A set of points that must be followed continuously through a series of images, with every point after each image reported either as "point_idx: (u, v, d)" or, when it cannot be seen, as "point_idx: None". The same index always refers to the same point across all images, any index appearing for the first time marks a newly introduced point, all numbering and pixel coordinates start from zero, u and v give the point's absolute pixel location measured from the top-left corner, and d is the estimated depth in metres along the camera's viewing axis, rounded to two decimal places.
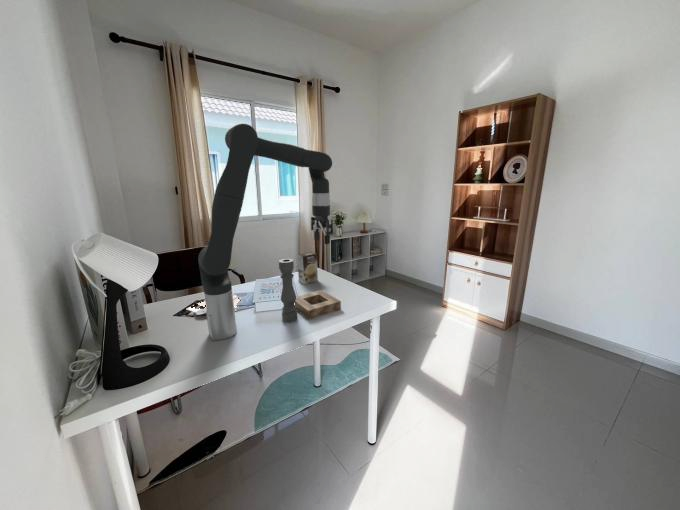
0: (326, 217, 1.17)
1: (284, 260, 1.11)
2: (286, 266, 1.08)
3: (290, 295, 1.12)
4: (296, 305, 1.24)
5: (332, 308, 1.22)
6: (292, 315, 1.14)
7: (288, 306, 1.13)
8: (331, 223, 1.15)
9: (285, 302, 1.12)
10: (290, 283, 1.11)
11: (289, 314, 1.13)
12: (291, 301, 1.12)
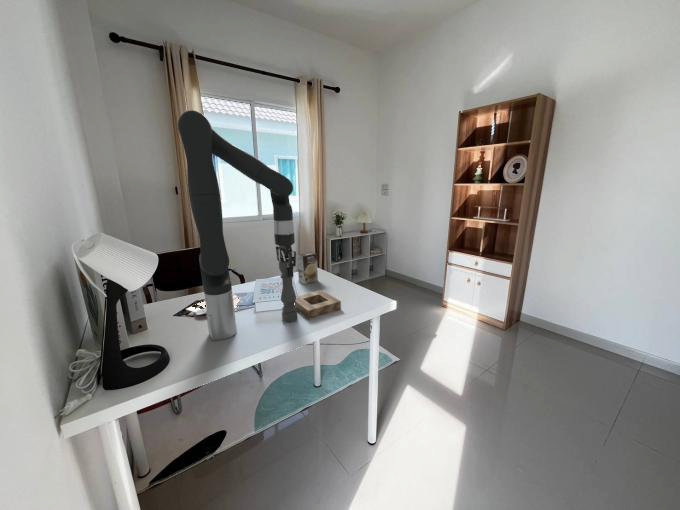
0: (289, 246, 1.06)
1: None
2: (286, 266, 1.08)
3: (290, 295, 1.12)
4: (296, 305, 1.24)
5: (332, 308, 1.22)
6: (292, 315, 1.14)
7: (288, 306, 1.13)
8: (294, 256, 1.05)
9: (285, 302, 1.12)
10: (290, 283, 1.11)
11: (289, 314, 1.13)
12: (291, 301, 1.12)
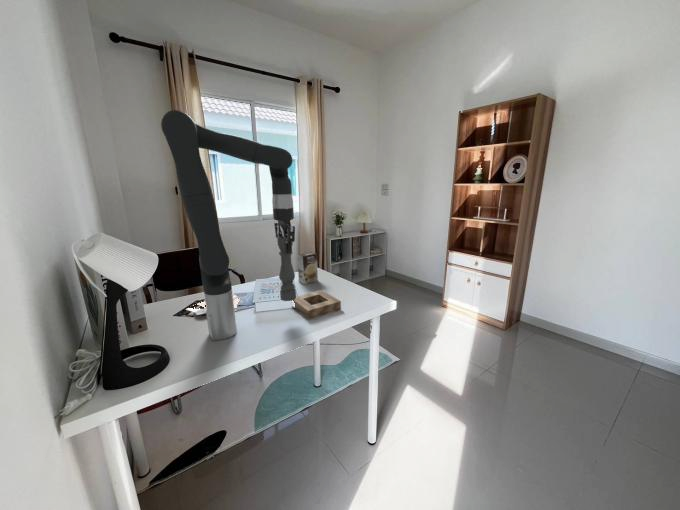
0: (288, 221, 1.04)
1: None
2: None
3: (289, 272, 1.09)
4: (296, 305, 1.24)
5: (332, 308, 1.22)
6: (291, 293, 1.11)
7: (287, 284, 1.11)
8: (293, 230, 1.02)
9: (283, 280, 1.09)
10: (289, 260, 1.09)
11: (287, 292, 1.11)
12: (290, 279, 1.10)
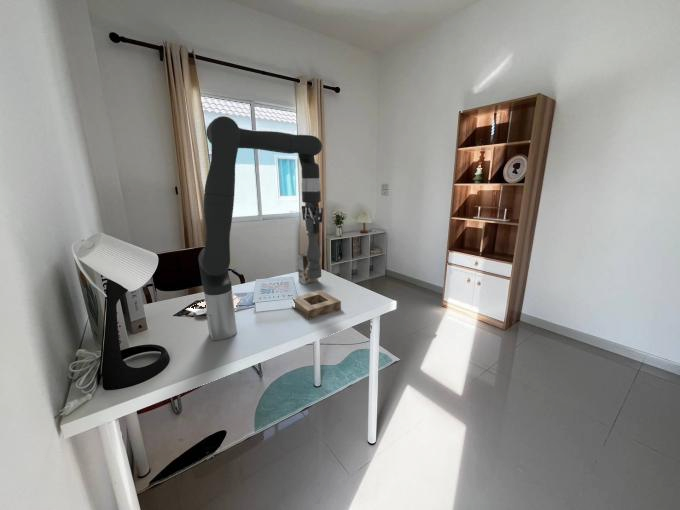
0: (316, 203, 1.12)
1: (310, 218, 1.17)
2: (313, 223, 1.14)
3: (316, 251, 1.18)
4: (296, 305, 1.24)
5: (332, 308, 1.22)
6: (317, 271, 1.20)
7: (313, 262, 1.19)
8: (321, 212, 1.11)
9: (311, 258, 1.18)
10: (316, 240, 1.18)
11: (314, 270, 1.19)
12: (316, 257, 1.18)
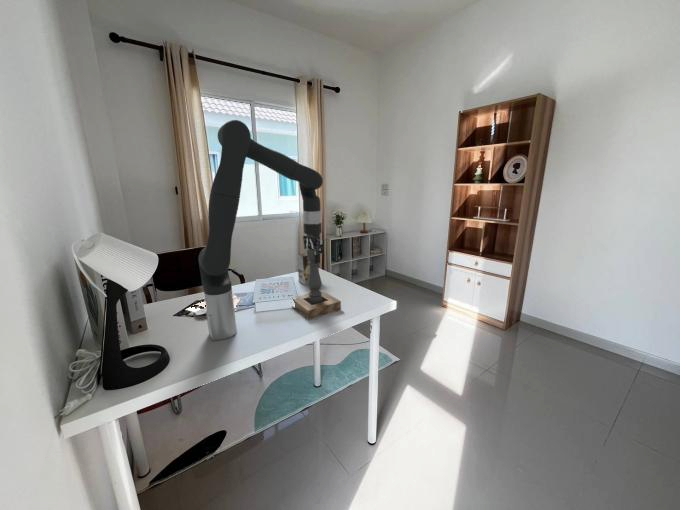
0: (317, 235, 1.15)
1: (311, 248, 1.20)
2: (314, 254, 1.18)
3: (317, 280, 1.21)
4: (296, 305, 1.24)
5: (332, 308, 1.22)
6: (318, 299, 1.23)
7: (314, 291, 1.23)
8: (322, 243, 1.14)
9: (312, 287, 1.21)
10: (317, 269, 1.21)
11: (315, 298, 1.22)
12: (317, 286, 1.22)
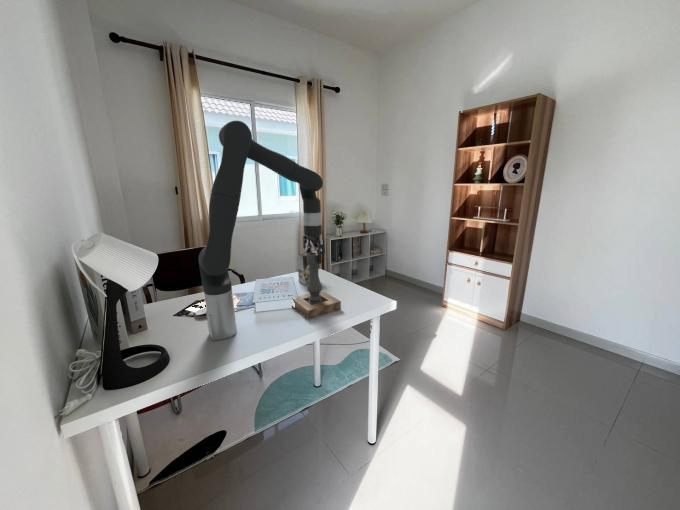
0: (318, 237, 1.16)
1: (311, 253, 1.21)
2: (314, 259, 1.18)
3: (317, 285, 1.22)
4: (296, 305, 1.24)
5: (332, 308, 1.22)
6: None
7: (314, 295, 1.23)
8: (323, 243, 1.14)
9: (312, 292, 1.22)
10: (317, 274, 1.21)
11: (315, 303, 1.23)
12: (317, 291, 1.22)
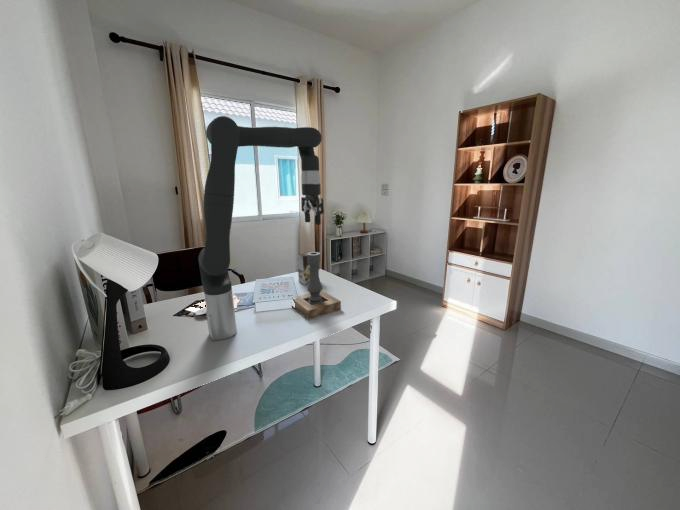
0: (316, 196, 1.12)
1: (312, 253, 1.21)
2: (314, 259, 1.18)
3: (317, 285, 1.22)
4: (296, 305, 1.24)
5: (332, 308, 1.22)
6: None
7: (315, 295, 1.23)
8: (321, 202, 1.10)
9: (312, 292, 1.22)
10: (317, 274, 1.21)
11: (315, 303, 1.23)
12: (318, 291, 1.22)
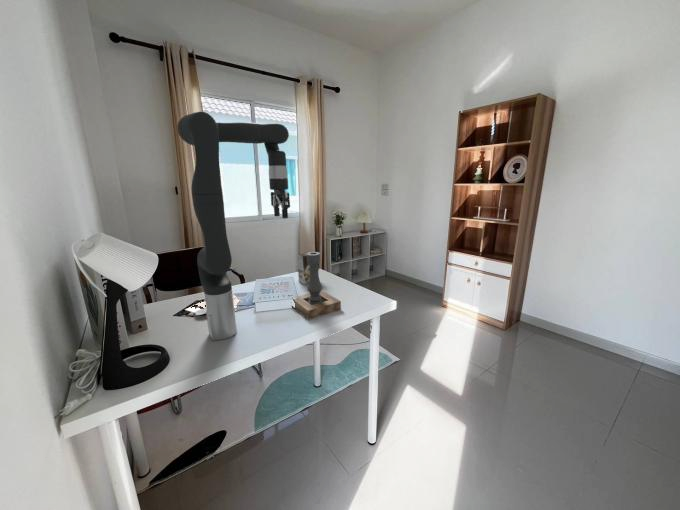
0: (283, 190, 1.15)
1: (311, 253, 1.21)
2: (314, 259, 1.18)
3: (317, 285, 1.22)
4: (296, 305, 1.24)
5: (332, 308, 1.22)
6: None
7: (314, 295, 1.23)
8: (287, 196, 1.13)
9: (312, 292, 1.22)
10: (317, 274, 1.21)
11: (315, 303, 1.23)
12: (317, 291, 1.22)
